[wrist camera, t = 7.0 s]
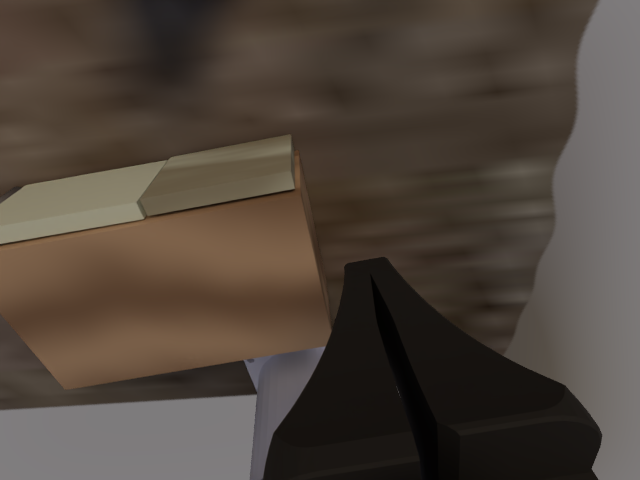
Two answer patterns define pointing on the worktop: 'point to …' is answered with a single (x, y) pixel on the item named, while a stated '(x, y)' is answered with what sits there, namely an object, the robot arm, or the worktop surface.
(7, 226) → the door
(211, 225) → the cabinet
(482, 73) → the worktop surface
